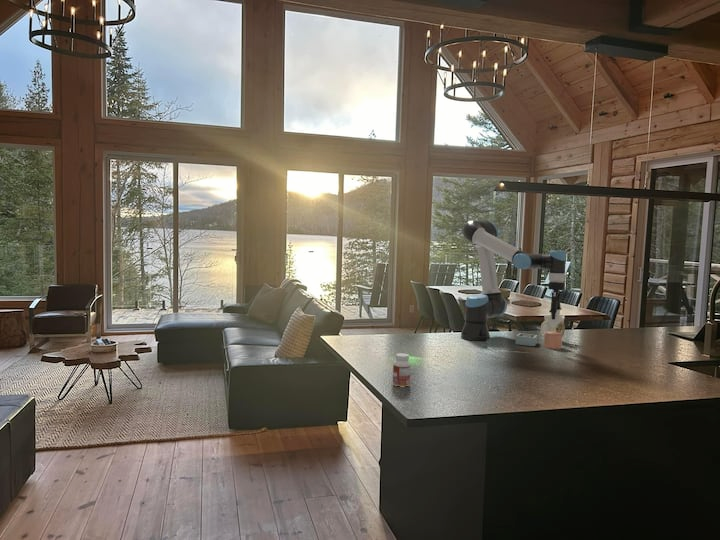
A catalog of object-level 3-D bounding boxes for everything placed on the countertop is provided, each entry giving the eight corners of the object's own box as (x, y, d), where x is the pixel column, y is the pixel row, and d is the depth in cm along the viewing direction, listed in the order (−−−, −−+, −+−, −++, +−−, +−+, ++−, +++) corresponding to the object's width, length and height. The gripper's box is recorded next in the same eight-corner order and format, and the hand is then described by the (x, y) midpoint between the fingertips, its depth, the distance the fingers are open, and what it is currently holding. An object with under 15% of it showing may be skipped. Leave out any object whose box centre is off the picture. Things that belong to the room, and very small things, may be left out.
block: (522, 344, 268) (523, 336, 268) (521, 342, 272) (522, 334, 272) (530, 344, 267) (531, 336, 267) (530, 343, 271) (530, 335, 271)
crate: (515, 345, 268) (515, 335, 267) (518, 342, 276) (519, 333, 275) (534, 347, 263) (534, 337, 263) (537, 344, 272) (537, 335, 271)
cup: (543, 349, 261) (544, 333, 261) (545, 346, 268) (546, 330, 268) (560, 351, 257) (561, 334, 257) (562, 348, 265) (563, 332, 264)
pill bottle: (391, 382, 190) (392, 352, 190) (408, 383, 191) (409, 352, 190) (394, 387, 184) (395, 356, 184) (411, 387, 185) (412, 356, 184)
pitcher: (532, 340, 283) (533, 315, 282) (554, 338, 292) (555, 313, 291) (549, 344, 273) (550, 318, 273) (571, 341, 283) (572, 316, 282)
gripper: (562, 283, 248) (560, 328, 249) (567, 280, 270) (565, 321, 271) (545, 282, 251) (543, 326, 252) (551, 280, 274) (550, 320, 275)
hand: (554, 324), depth 262 cm, fingers open, 13 cm apart
